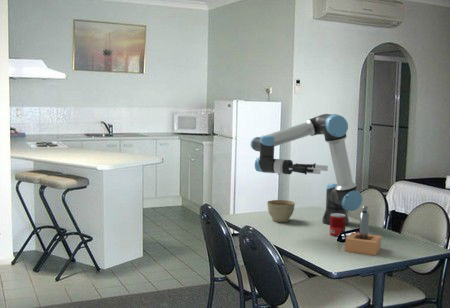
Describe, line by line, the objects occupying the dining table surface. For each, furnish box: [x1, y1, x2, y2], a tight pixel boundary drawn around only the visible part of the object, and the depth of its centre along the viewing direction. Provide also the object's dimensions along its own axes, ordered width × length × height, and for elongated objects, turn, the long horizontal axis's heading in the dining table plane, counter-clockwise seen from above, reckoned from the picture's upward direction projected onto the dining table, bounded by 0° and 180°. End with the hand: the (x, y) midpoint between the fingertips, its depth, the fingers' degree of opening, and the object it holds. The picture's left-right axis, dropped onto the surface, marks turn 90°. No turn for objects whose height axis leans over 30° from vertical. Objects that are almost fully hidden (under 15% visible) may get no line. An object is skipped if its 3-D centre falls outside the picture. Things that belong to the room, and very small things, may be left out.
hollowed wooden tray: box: [344, 232, 382, 256], centre depth 258 cm, size 14×14×6 cm
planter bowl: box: [266, 199, 296, 223], centre depth 317 cm, size 16×16×11 cm
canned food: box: [329, 213, 346, 237], centre depth 286 cm, size 8×8×11 cm
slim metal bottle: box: [358, 205, 370, 240], centre depth 258 cm, size 4×4×21 cm
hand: (324, 169), depth 272 cm, fingers open, 13 cm apart
